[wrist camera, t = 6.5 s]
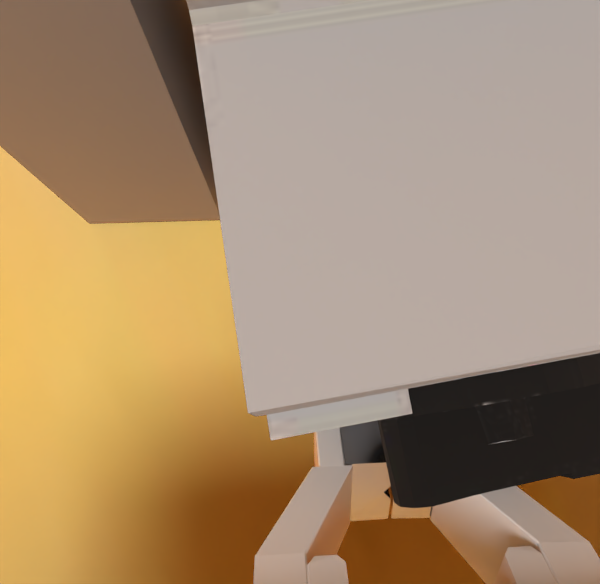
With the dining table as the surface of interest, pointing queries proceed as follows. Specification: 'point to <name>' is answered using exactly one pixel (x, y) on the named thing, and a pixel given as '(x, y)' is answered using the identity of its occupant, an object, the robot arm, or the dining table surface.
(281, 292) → the circuit breaker
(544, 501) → the dining table surface
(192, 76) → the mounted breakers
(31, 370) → the dining table surface
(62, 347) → the dining table surface
